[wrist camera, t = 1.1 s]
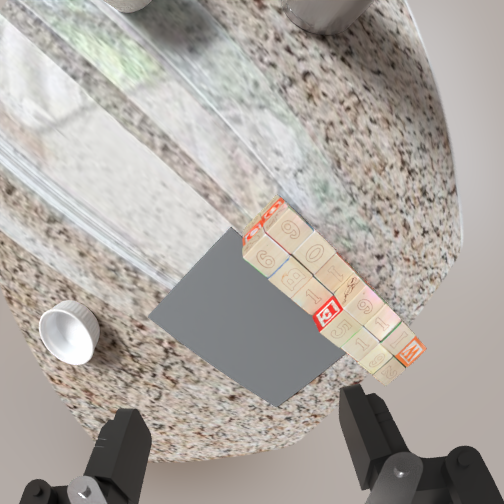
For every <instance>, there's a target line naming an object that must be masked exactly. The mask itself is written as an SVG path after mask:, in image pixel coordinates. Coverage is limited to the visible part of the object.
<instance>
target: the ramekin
mask: <svg viewBox="0 0 504 504" xmlns="http://www.w3.org/2000/svg"><path fill="white" fill-rule="evenodd" d="M39 332H40V336H41V338H42V341H43V343H44V344H45V346H46V347H47V349H48V350H49V351H50V352H51V353H52V354H53V355H54V356H55V357H57V358H58V359H60V360H61V361H63V362H65V363H68V364H72V365H81V364H85V363H87V362H88V361H89V360H90V359H91V358H92V356H93V353H94V349H95V346H96V344H97V342H98V340H99V336H100V328H99V324H98V321H97V319H96V317H95V316H94V314H93V313H92V312H91V311H90V310H89V309H88V308H87V307H86V306H84V305H83V304H81V303H79V302H77V301H73V300H66V301H62V302H60V303H59V304H57V305H56V306H55V307H53V308H52V309H50V310H48V311H46V312H45V313H44V314H43V315H42V317H41V318H40V322H39Z"/></svg>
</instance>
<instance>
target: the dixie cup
mask: <svg viewBox="0 0 504 504" xmlns="http://www.w3.org/2000/svg"><path fill="white" fill-rule="evenodd" d="M104 1H105V2H107V3H108V4H110V5H111V6H112V7H114V8H115V9H117V10H118V11H120V12H124V13H131V12H135V11H138V10H140V9H142V8H144V7H145V6H147V5H148V4H149V3H150V2H151V1H152V0H104Z"/></svg>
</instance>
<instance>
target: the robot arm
mask: <svg viewBox="0 0 504 504" xmlns="http://www.w3.org/2000/svg"><path fill="white" fill-rule="evenodd" d="M281 1H282V7H283V9H284V12H285V13H286V15H287V16H288V18H289V19H290V20H291V21H292V22H293V23H295V24H296V25H297V26H299V27H300V28H302V29H304V30H306V31H309V32H312V33H315V34H321V35H332V34H337V33H340V32H342V31H344V30H346V29H347V28H348V27H349V26H350V25H351V24H352V23H353V22H354V21H355V20H356V19H357V18H358V17H359V16H360V15H361V14H362V13H363V12H364V11H365V10H366V9H367V8H368V7H369V6H370V5H371V4H372V3H373V2H374V1H375V0H281ZM339 420H340V425H341V428H342V431H343V434H344V437H345V440H346V443H347V446H348V449H349V452H350V455H351V458H352V461H353V465H354V467H355V471H356V474H357V477H358V480H359V483H360V486H361V489H362V490H366V489H369V488H370V491H371V493H370V495H369V497H368V499H367V501H366V503H365V504H504V501H503V499H502V497H501V495H500V492H499V490H498V488H497V486H496V484H495V482H494V480H493V478H492V476H491V474H490V472H489V470H488V468H487V466H486V465H485V463H484V461H483V459H482V457H481V455H480V453H479V452H478V451H477V450H476V449H475V448H473V447H470V446H459V447H457V448H455V449H453V450H452V451H451V452H450V453H449V454H448V456H445V457H436V458H421V457H418V456H417V455H415V454H413V453H411V452H410V451H409V449H408V448H407V446H406V444H405V442H404V440H403V438H402V436H401V434H400V432H399V430H398V428H397V426H396V424H395V422H394V420H393V418H392V416H391V414H390V412H389V410H388V408H387V406H386V404H385V402H384V400H383V399H381V398H380V397H379V396H377V395H376V394H375V393H372V394H368V395H365V393H364V391H363V389H362V387H361V385H360V384H355V385H351V386H346V387H342V388H340V399H339ZM151 444H152V438H151V433H150V431H149V429H148V427H147V425H146V424H145V422H144V420H143V418H142V416H141V414H140V413H139V411H138V410H137V409H124V408H120V409H118V410H117V412H116V415H115V417H114V420H109V421H108V422H107V423H106V424H105V425H104V426H103V427H102V428H101V431H100V433H99V436H98V440H97V441H96V444H95V447H94V449H93V451H92V454H91V457H90V459H89V462H88V464H87V467H86V470H85V473H84V475H83V476H80V477H77V478H75V479H73V480H72V481H71V482H70V484H69V485H67V486H56V487H51V486H50V485H49V484H48V483H47V482H46V481H44V480H41V479H36V480H32V481H31V482H30V483H28V485H27V486H26V487H25V490H24V492H23V495H22V498H21V501H20V503H19V504H138V502H139V498H140V492H141V488H142V484H143V479H144V475H145V470H146V466H147V461H148V457H149V453H150V449H151Z"/></svg>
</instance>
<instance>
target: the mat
mask: <svg viewBox="0 0 504 504" xmlns="http://www.w3.org/2000/svg"><path fill="white" fill-rule="evenodd" d="M242 239H243V237H242V236H240V235H239V234H238V233H237V232H236V231H235V230H234V229H233V228H232V227H230V229H229V230H228V231H227V232H226V233H225V234H224V235H223V236H222V237H221V238H220V239H219V240H218V241H217V242H216V243H215V244H214V245H213V246H212V247H211V248H210V250H209V251H208V252H207V253H206V254H205V255H204V256H203V257H202V258H201V259H200V260H199V261H198V262H197V263H196V264H195V265H194V267H193V268H192V269H191V270H190V271H189V272H188V273H187V274H186V275H185V276H184V277H183V278H182V279H181V281H180V282H179V283H178V284H177V285H176V286H175V287H174V288H173V289H172V290H171V291H170V292H169V294H168V295H167V296H166V297H165V298H164V299H163V300H162V301H161V302H160V303H159V305H158V306H157V307H156V308H155V309H154V310H153V311H152V312H151V313H150V314H149V316H148V318H150V319H151V320H152V321H153V322H155V323H156V324H157V325H159V326H160V327H161V328H162V329H164V330H165V331H166V332H167V333H169V334H170V335H171V336H173V337H174V338H175V339H177V340H178V341H179V342H181V343H182V344H183V345H185V346H186V347H187V348H189V349H190V350H191V351H193V352H194V353H196V354H197V355H198V356H200V357H201V358H202V359H204V360H205V361H207V362H208V363H209V364H211V365H212V366H214V367H215V368H217V369H218V370H220V371H221V372H222V373H224V374H225V375H227V376H228V377H230V378H231V379H233V380H234V381H236V382H237V383H239V384H240V385H242V386H243V387H245V388H246V389H248V390H250V391H251V392H253V393H254V394H256V395H257V396H259V397H261V398H262V399H264V400H265V401H267V402H269V403H270V404H272V405H273V406H275V407H277V406H279V405H280V404H282V403H283V402H284V401H286V400H287V399H288V398H290V397H291V396H293V395H294V394H295V393H297V392H298V391H299V390H300V389H302V388H303V387H304V386H306V385H307V384H308V383H310V382H311V381H312V380H313V379H315V378H316V377H317V376H318V375H320V374H321V373H322V372H323V371H325V370H326V369H327V368H328V367H330V366H331V365H332V364H333V363H334V362H336V361H337V360H338V359H339V358H340V357H342V356H343V355H344V354H345V353H346V352H345V351H344V350H342V349H341V348H339V347H337V346H336V345H335V344H333V343H332V342H331V341H330V340H328V339H327V338H326V337H325V336H323V335H322V334H321V333H320V332H319V331H318V328H317V326H316V324H315V322H314V320H313V318H312V315H310V314H309V313H307V312H306V311H305V310H303V309H302V308H301V307H300V306H298V305H297V304H296V303H295V302H294V301H292V300H291V298H289V297H288V296H287V295H286V294H284V293H283V292H282V291H281V290H279V289H278V288H277V287H276V286H275V285H273V284H272V283H271V282H270V281H269V280H268V279H267V277H265V276H264V275H262V274H261V273H260V272H259V271H257V270H256V269H255V268H254V267H253V266H251V265H250V264H249V263H248V262H247V261H245V260H244V259H243V254H242V248H243V242H242Z"/></svg>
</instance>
